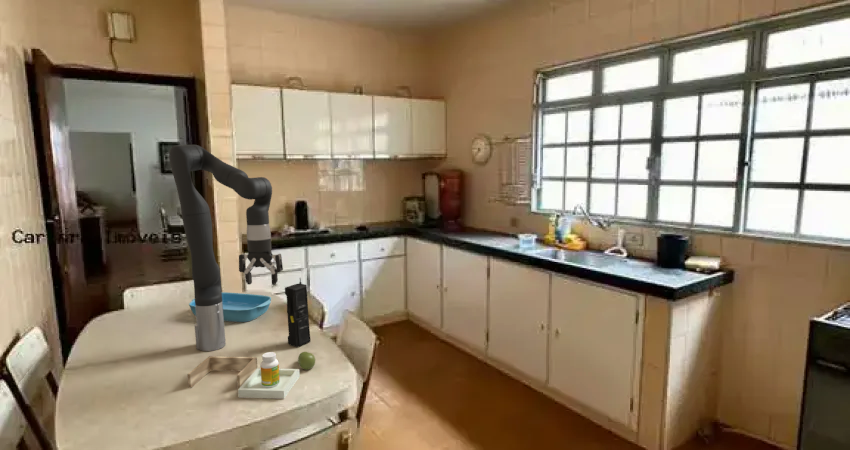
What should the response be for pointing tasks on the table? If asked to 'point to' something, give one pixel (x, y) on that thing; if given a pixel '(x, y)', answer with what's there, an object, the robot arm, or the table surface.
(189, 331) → the table surface
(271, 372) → the supplement bottle
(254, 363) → the frame
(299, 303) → the portable radio
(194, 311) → the casserole dish
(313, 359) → the pear
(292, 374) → the plastic tray
